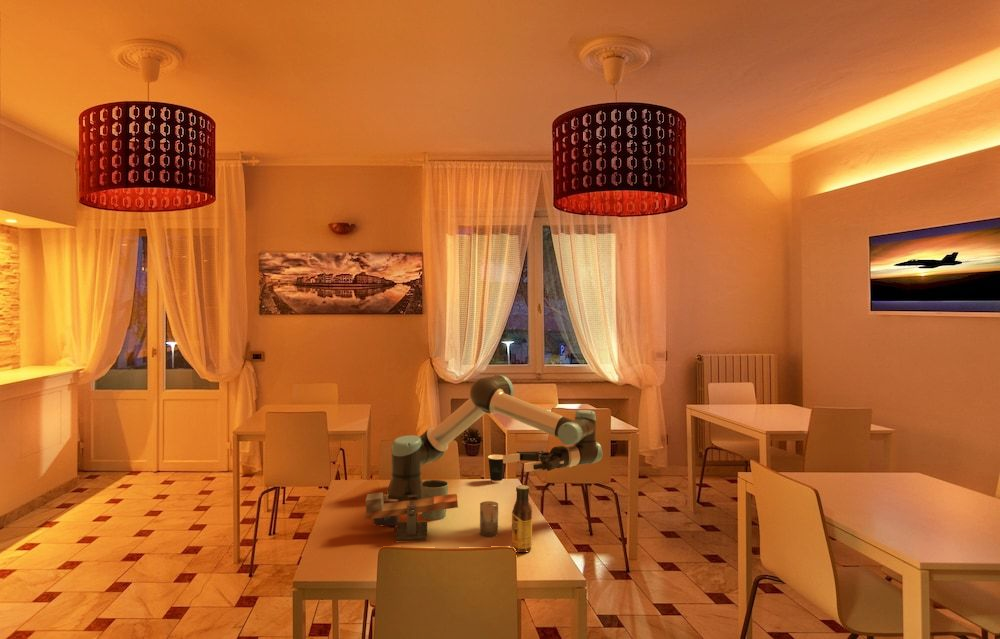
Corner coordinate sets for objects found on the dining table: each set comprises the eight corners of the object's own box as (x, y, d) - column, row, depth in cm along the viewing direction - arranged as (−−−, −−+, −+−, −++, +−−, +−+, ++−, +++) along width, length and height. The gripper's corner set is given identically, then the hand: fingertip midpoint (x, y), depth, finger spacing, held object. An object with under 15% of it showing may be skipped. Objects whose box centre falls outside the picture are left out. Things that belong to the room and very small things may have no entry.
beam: (365, 520, 194) (363, 501, 193) (368, 511, 202) (366, 493, 202) (458, 508, 197) (456, 489, 197) (457, 500, 205) (455, 482, 205)
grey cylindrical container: (436, 510, 224) (436, 478, 224) (454, 516, 217) (454, 483, 217) (414, 516, 217) (414, 483, 217) (431, 523, 210) (432, 488, 210)
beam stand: (395, 541, 192) (395, 507, 192) (398, 526, 206) (398, 494, 206) (426, 540, 193) (427, 506, 193) (427, 525, 207) (427, 494, 207)
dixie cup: (491, 484, 259) (492, 459, 259) (484, 480, 266) (484, 455, 266) (508, 482, 262) (508, 457, 262) (500, 478, 269) (501, 453, 269)
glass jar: (476, 535, 199) (476, 504, 199) (485, 529, 204) (486, 500, 204) (492, 538, 196) (492, 507, 196) (501, 532, 201) (501, 503, 201)
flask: (399, 525, 208) (399, 494, 208) (396, 527, 205) (396, 496, 205) (375, 522, 210) (375, 491, 210) (371, 525, 207) (371, 494, 207)
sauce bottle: (510, 546, 189) (511, 483, 189) (530, 546, 189) (530, 483, 189) (512, 554, 182) (513, 489, 182) (533, 554, 183) (533, 489, 183)
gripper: (585, 474, 204) (533, 483, 194) (544, 459, 226) (495, 466, 215) (586, 452, 204) (533, 459, 194) (544, 439, 226) (495, 445, 215)
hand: (513, 463), depth 204 cm, fingers open, 13 cm apart
